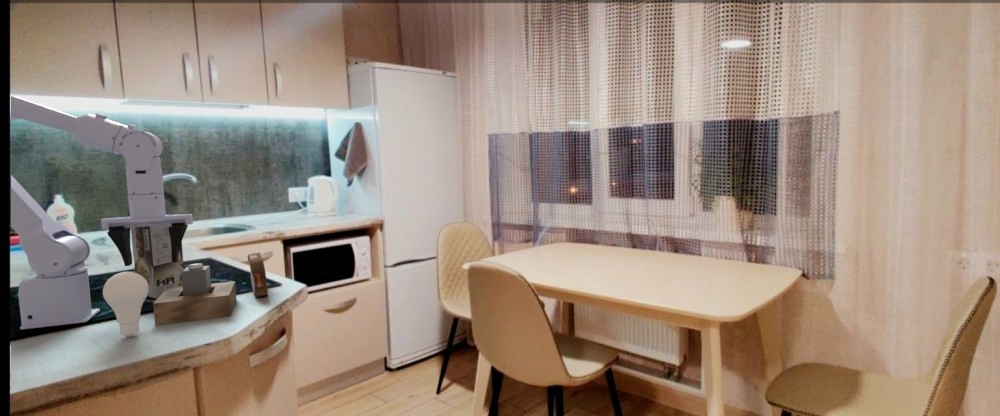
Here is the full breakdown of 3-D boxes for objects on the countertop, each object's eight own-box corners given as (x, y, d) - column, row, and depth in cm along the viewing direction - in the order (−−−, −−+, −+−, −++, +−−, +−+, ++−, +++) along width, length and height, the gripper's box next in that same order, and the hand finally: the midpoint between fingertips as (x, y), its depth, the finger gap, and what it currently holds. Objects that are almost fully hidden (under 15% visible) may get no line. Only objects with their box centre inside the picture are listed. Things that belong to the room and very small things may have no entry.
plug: (183, 305, 95) (180, 267, 95) (188, 299, 99) (186, 263, 98) (207, 302, 97) (205, 265, 96) (211, 297, 100) (209, 261, 100)
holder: (154, 325, 90) (153, 303, 90) (169, 307, 101) (167, 287, 101) (230, 316, 95) (229, 295, 94) (236, 299, 106) (235, 281, 105)
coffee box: (187, 292, 113) (181, 220, 111) (155, 299, 107) (149, 224, 106) (167, 287, 118) (161, 218, 116) (135, 294, 112) (129, 222, 111)
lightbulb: (111, 334, 86) (104, 270, 85) (154, 328, 89) (148, 266, 88) (104, 345, 80) (97, 278, 79) (150, 338, 83) (144, 273, 82)
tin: (269, 299, 106) (266, 260, 105) (252, 301, 105) (250, 261, 104) (263, 284, 119) (261, 249, 118) (248, 286, 118) (246, 250, 117)
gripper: (92, 196, 91) (99, 271, 92) (186, 193, 96) (191, 263, 98) (105, 194, 97) (112, 263, 99) (192, 191, 103) (197, 257, 104)
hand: (152, 263), depth 99 cm, fingers open, 7 cm apart
